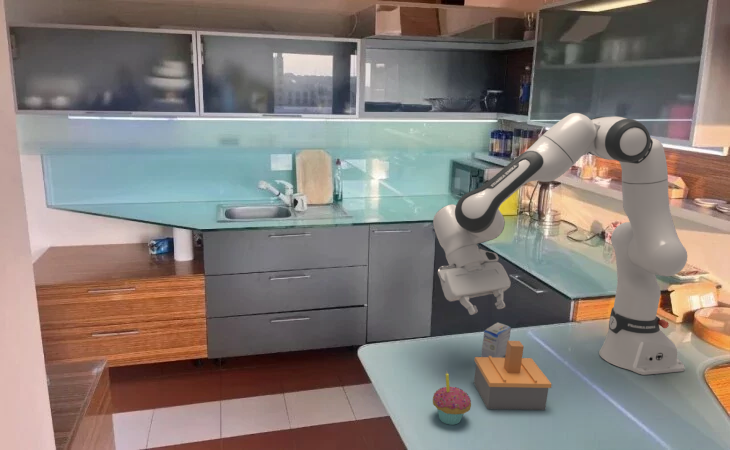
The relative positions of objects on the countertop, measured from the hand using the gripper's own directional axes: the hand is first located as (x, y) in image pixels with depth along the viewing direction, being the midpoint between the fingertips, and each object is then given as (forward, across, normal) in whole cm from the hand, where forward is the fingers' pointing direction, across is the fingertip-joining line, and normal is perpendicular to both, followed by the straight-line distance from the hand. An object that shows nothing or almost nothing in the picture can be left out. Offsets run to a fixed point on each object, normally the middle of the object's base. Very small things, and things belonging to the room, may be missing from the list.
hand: (488, 310), depth 144 cm
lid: (+17, 0, +3) cm, 17 cm away
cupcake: (+21, -20, +5) cm, 29 cm away
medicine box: (+8, +12, +18) cm, 23 cm away
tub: (+20, 0, +6) cm, 21 cm away
